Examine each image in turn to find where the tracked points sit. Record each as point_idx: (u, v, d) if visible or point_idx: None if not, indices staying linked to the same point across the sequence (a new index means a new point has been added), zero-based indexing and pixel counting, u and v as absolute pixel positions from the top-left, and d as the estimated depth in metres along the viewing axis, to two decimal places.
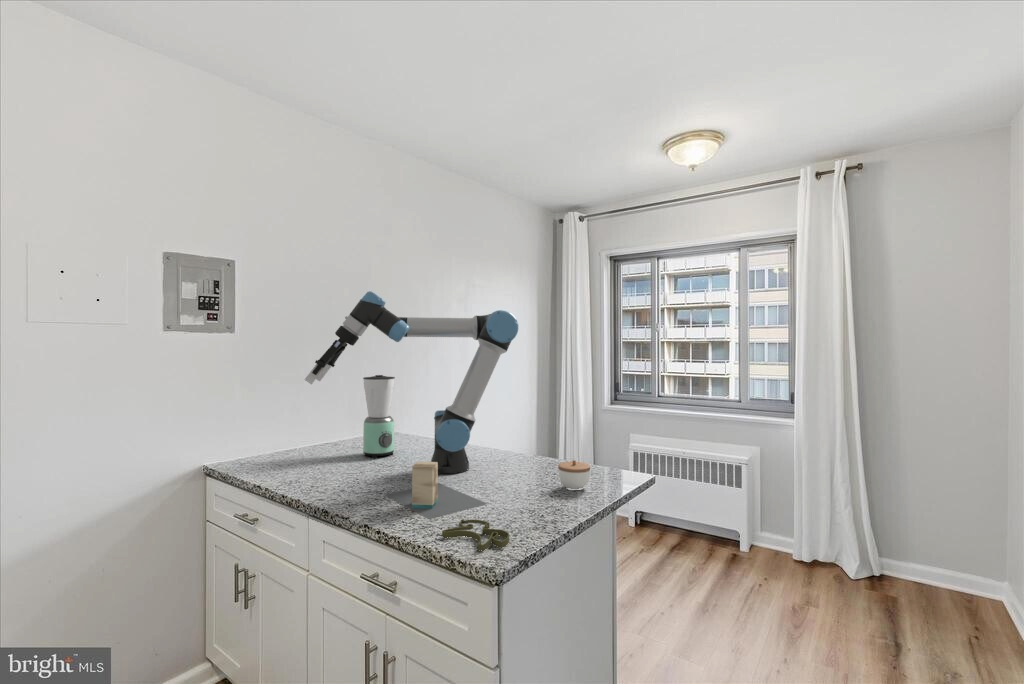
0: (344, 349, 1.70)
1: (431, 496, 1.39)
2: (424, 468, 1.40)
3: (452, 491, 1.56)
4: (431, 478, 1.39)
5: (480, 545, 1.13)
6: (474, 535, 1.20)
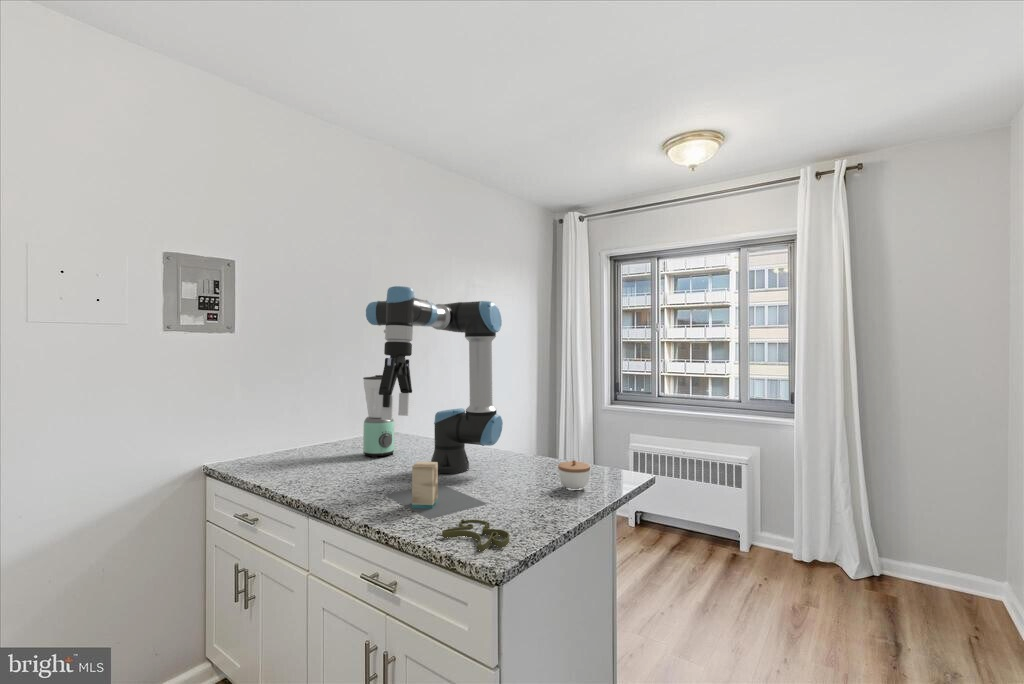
0: (406, 365, 1.37)
1: (431, 496, 1.39)
2: (424, 468, 1.40)
3: (452, 491, 1.56)
4: (431, 478, 1.39)
5: (480, 545, 1.13)
6: (474, 535, 1.20)
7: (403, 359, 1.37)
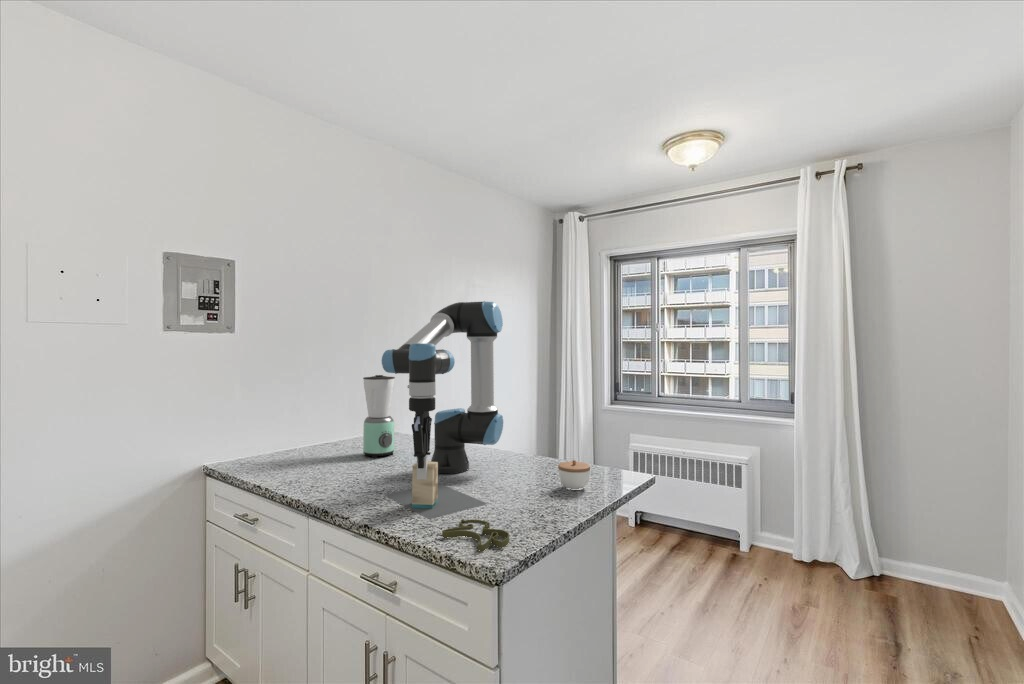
0: (430, 420, 1.41)
1: (431, 496, 1.39)
2: None
3: (452, 491, 1.56)
4: (431, 478, 1.39)
5: (480, 545, 1.13)
6: (474, 535, 1.20)
7: None
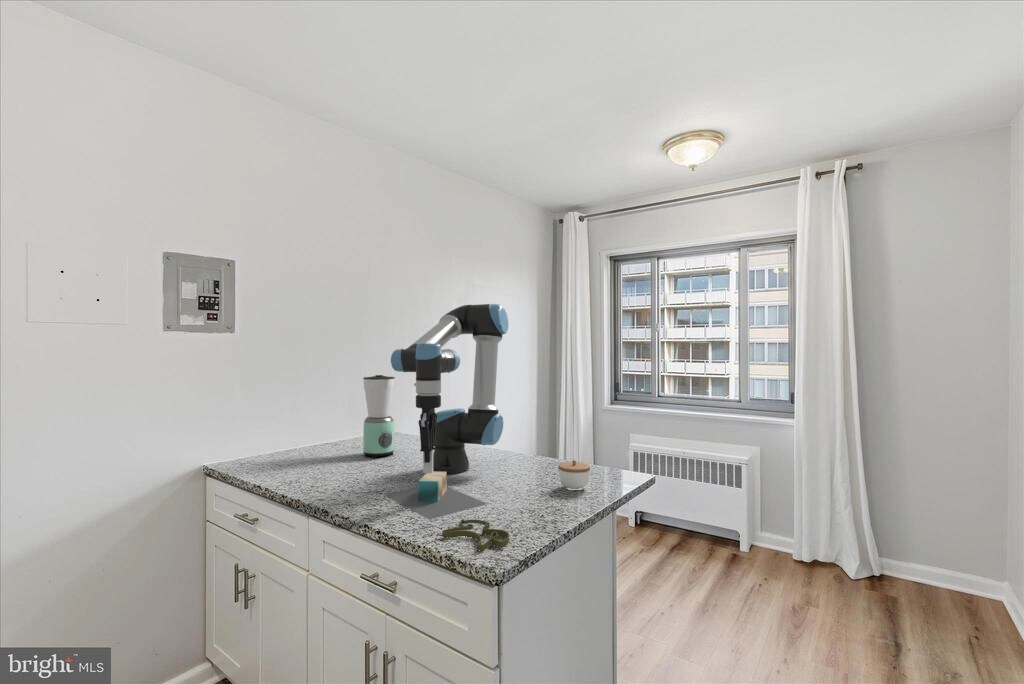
0: (435, 416, 1.47)
1: (439, 478, 1.49)
2: (439, 471, 1.57)
3: (452, 491, 1.56)
4: (443, 474, 1.54)
5: (480, 545, 1.13)
6: (474, 535, 1.20)
7: None
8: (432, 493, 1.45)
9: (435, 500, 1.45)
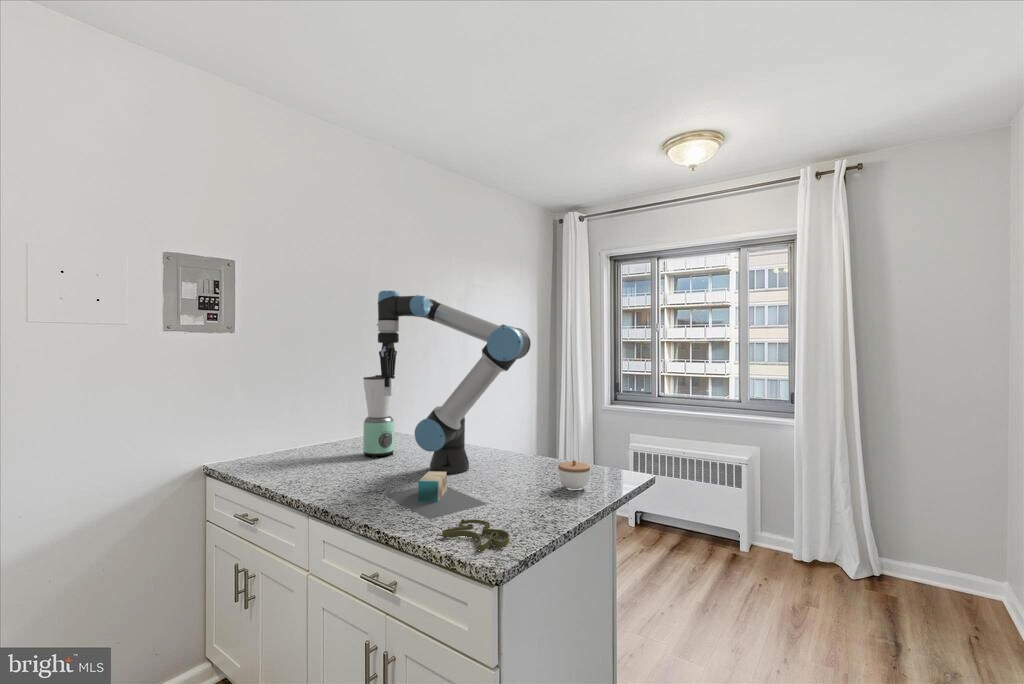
0: (394, 351, 1.82)
1: (439, 478, 1.49)
2: (439, 471, 1.57)
3: (452, 491, 1.56)
4: (443, 474, 1.54)
5: (480, 545, 1.13)
6: (474, 535, 1.20)
7: (393, 343, 1.83)
8: (432, 493, 1.45)
9: (435, 500, 1.45)
